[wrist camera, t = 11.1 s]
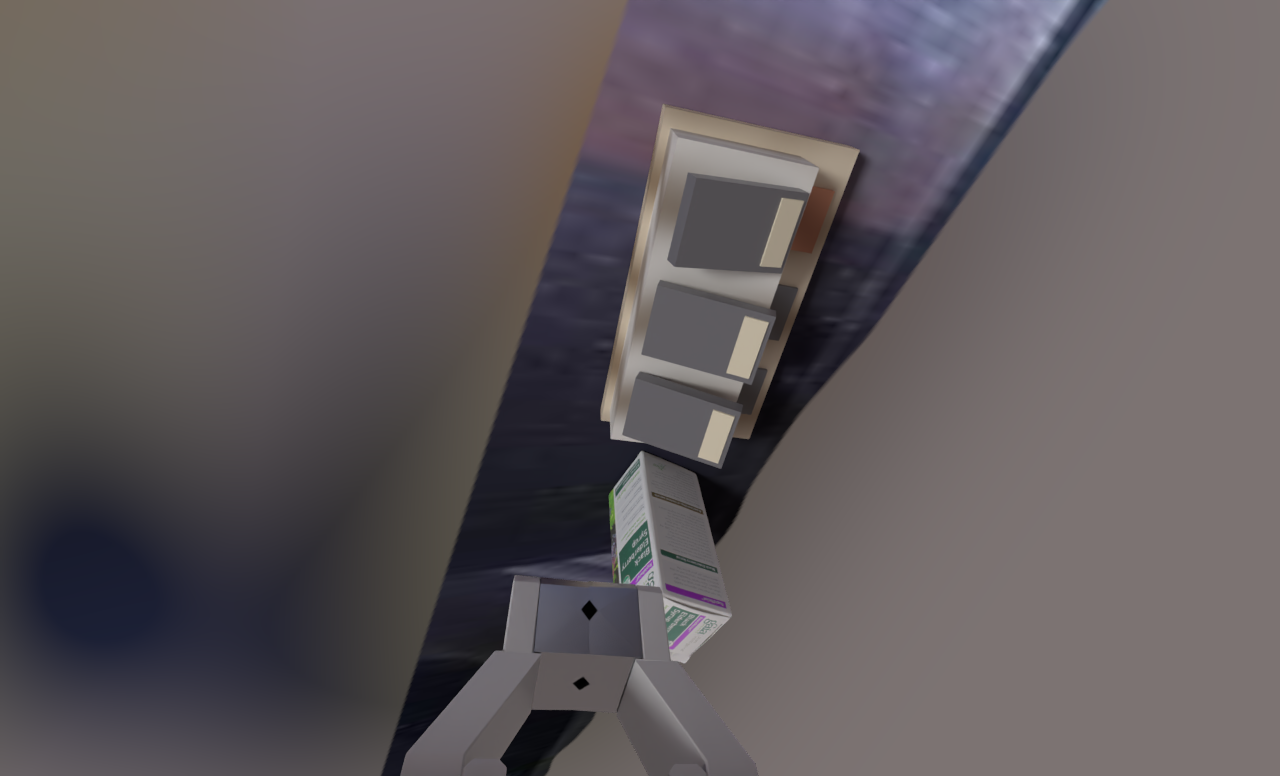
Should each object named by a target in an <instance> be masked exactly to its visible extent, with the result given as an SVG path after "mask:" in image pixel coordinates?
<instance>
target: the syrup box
mask: <svg viewBox="0 0 1280 776" xmlns="http://www.w3.org/2000/svg"><path fill="white" fill-rule="evenodd" d="M609 508H610V528H611V547H612V566H613V583H622V584H635V585H642V586H655V587H660V589H661V590H662V595H663V603H664V611H665V618H666V626H667V634H668V642H669V650H670V658H671V660H672V661H678V662H682V663H686V662H687V660H688V659H689V658H690V656H691V655H692V654H693V653H694V652H695V651H696V650H697V649H698V648H699V647H700V646H702V645H703V644H704V643H705V642H706V641H707V640H708V639H709V638H711V637H712V635H713V634H714V633H716V632H717V630H718V629H719V628H720V627H721V626H722V625H723V624H724V623H726V622H727V621H728V620H729V619H730V618H731V617H732V613H731V609H730V605H729V601H728V597H727V593H726V589H725V585H724V581H723V577H722V574H721V570H720V566H719V561H718V558H717V554H716V550H715V546H714V542H713V538H712V534H711V530H710V526H709V522H708V518H707V514H706V510H705V507H704V502H703V498H702V494H701V491H700V487H699V482H698V479H697V475H696V474H695V473H693V472H691V471H689V470H687V469H685V468H683V467H680V466H678V465H676V464H673V463H671V462H668V461H666V460H664V459H661V458H659V457H656V456H654V455H651V454H649V453H646V452H644V451H641V452H640V453H639V455H638V457H637V458H636V459H635V460H634V462H633V463H632V464H631V466H630V467H629V468H628V469H627V471H626V472H625V473H624V475H623V476H622V477H621V479H620V480H619V482H618V483H617V484H616V486H615V487H614V488H613V490H612V491H611V493H610V494H609Z"/></svg>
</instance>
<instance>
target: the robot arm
mask: <svg viewBox="0 0 1280 776" xmlns="http://www.w3.org/2000/svg"><path fill="white" fill-rule="evenodd" d="M531 709H537V710H581V711H596V712H611V713H617V717H618V719H619V721H620V723H621V725H622V727H623V728H624V730H625V732H626V734H627V736H628V738H629V739H630V741H631V743H632V745H633V747H634V749H635V751H636V753H637V755H638V756H639V758H640V760H641V762H642V764H643V766H644V768H645V770H646V772H647V773H648V775H649V776H758V772H757V767H756V764H755V763H754V761H753V760H752V759H751V757H750V756H749V755H748V753H747V752H746V751H745V749H744V748H743V747H742V745H741V744H740V743H739V741H738V740H737V739H736V737H735V736H734V735H733V733H732V732H731V731H730V730H729V728H728V727H727V726H726V724H725V723H724V722H723V720H722V719H721V718H720V716H719V715H718V714H717V712H716V711H715V710H714V708H713V707H712V706H711V704H710V703H709V702H708V701H707V699H706V698H705V697H704V695H703V694H702V693H701V691H700V690H699V689H698V687H697V686H696V685H695V683H694V682H693V681H692V679H691V678H690V677H689V675H688V674H687V673H686V671H685V670H684V669H683V667H682V666H681V665H680V664H679V662H678V661H671V658H670V650H669V642H668V634H667V626H666V618H665V611H664V603H663V595H662V590H661V589H660V587H655V586H642V585H635V584H622V583H607V582H591V581H588V582H581V581H571V580H562V579H553V578H543V577H541V578H540V577H532V576H521V575H515V577H514V581H513V586H512V593H511V600H510V606H509V613H508V620H507V627H506V634H505V640H504V647H503V651H495V652H494V653H493V654H492V655H491V656H490V657H489V659H488V660H487V661H486V662H485V663H484V664H483V666H482V667H481V668H480V669H479V670H478V671H477V672H476V674H475V675H474V676H473V677H472V678H471V679H470V681H469V682H468V683H467V684H466V685H465V686H464V687H463V689H462V690H461V691H460V692H459V693H458V694H457V696H456V697H455V698H454V699H453V700H452V701H451V703H450V704H449V705H448V706H447V707H446V708H445V709H444V711H443V712H442V713H441V714H440V715H439V716H438V718H437V719H436V720H435V721H434V722H433V723H432V724H431V726H430V727H429V728H428V729H427V730H426V731H425V733H424V734H423V735H422V736H421V737H420V738H419V740H418V741H417V742H416V743H415V744H414V745H413V746H412V748H411V749H410V750H409V751H408V752H407V753H406V756H405V760H404V764H403V768H402V771H401V775H400V776H506V769H507V767H506V766H505V765H504V764H503V763H502V762H501V761H500V758H501V757H502V755H503V754H504V752H505V750H506V749H507V747H508V746H509V744H510V743H511V741H512V740H513V738H514V737H515V735H516V734H517V732H518V731H519V729H520V728H521V726H522V725H523V723H524V722H525V720H526V719H527V717H528V716H529V714H530V712H531Z"/></svg>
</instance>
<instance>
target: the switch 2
mask: <svg viewBox="0 0 1280 776" xmlns="http://www.w3.org/2000/svg"><path fill="white" fill-rule="evenodd" d="M742 408H743V405H742V404H739V403H736V402H733V401H730V400H727V399H724V398H721V397H717V396H714V395H711V394H708V393H705V392H702V391H699V390H696V389H693V388H690V387H687V386H683V385H680V384H677V383H674V382H671V381H668V380H665V379H662V378H659V377H656V376H653V375H649V374H646V373H643V372H639V373H638V375H637V376H636V378H635V382H634V386H633V391H632V395H631V399H630V404H629V408H628V412H627V416H626V421H625V425H624V429H623V433H622V435H623V436H626V437H629V438H632V439H635V440H638V441H641V442H644V443H647V444H650V445H653V446H656V447H658V448H661V449H664V450H667V451H670V452H673V453H676V454H679V455H682V456H685V457H688V458H691V459H694V460H697V461H700V462H703V463H705V464H708V465H711V466H714V467H717V468H720V469H721V467H722V465H723V462H724V459H725V456H726V454H727V451H728V448H729V445H730V442H731V440H732V437H733V434H734V431H735V429H736V426H737V423H738V420H739V418H740V415H741V412H742Z"/></svg>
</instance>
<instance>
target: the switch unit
mask: <svg viewBox="0 0 1280 776" xmlns="http://www.w3.org/2000/svg"><path fill="white" fill-rule="evenodd" d="M859 151H860V150H858V149H856V148H854V147H851V146H848V145H844V144H839V143H835V142H830V141H826V140H821V139H817V138H813V137H808V136H804V135H799V134H795V133H790V132H786V131H781V130H777V129H773V128H768V127H764V126H759V125H755V124H750V123H746V122H741V121H737V120H733V119H728V118H724V117H719V116H715V115H710V114H706V113H701V112H697V111H693V110H688V109H684V108H679V107H675V106H670V105H666V104H663V106H662V111H661V116H660V121H659V126H658V131H657V136H656V141H655V146H654V150H653V155H652V160H651V165H650V170H649V175H648V180H647V185H646V190H645V195H644V199H643V204H642V209H641V214H640V219H639V224H638V229H637V234H636V239H635V244H634V249H633V253H632V258H631V263H630V268H629V273H628V278H627V283H626V288H625V293H624V298H623V303H622V307H621V312H620V317H619V322H618V327H617V332H616V337H615V342H614V347H613V352H612V356H611V361H610V366H609V371H608V376H607V381H606V386H605V391H604V396H603V401H602V406H601V420H602V421H610V431H611V439H617V440H625V441H633V442H641V441H638V440H635V439H632V438H629V437H626V436H623V435H622V433H623V429H624V425H625V421H626V416H627V412H628V408H629V404H630V399H631V395H632V391H633V386H634V382H635V378H636V376H637V375H638V373H639V372H643V373H646V374H649V375H653V376H656V377H659V378H662V379H665V380H668V381H671V382H674V383H677V384H680V385H683V386H687V387H690V388H693V389H696V390H699V391H702V392H705V393H708V394H711V395H714V396H717V397H721V398H724V399H727V400H730V401H733V402H736V403H739V404H742V405H743V408H742V412H741V415H740V418H739V420H738V423H737V426H736V429H735V431H734V434H733V437H736V438H744V439H749V438H750V435H751V433H752V430H753V428H754V425H755V422H756V420H757V417H758V415H759V412H760V409H761V407H762V404H763V401H764V399H765V396H766V394H767V391H768V388H769V386H770V383H771V381H772V378H773V375H774V373H775V370H776V368H777V365H778V362H779V360H780V357H781V354H782V352H783V349H784V347H785V344H786V341H787V339H788V336H789V334H790V331H791V328H792V326H793V323H794V321H795V318H796V315H797V313H798V310H799V307H800V305H801V302H802V300H803V297H804V294H805V292H806V289H807V287H808V284H809V281H810V279H811V276H812V274H813V271H814V268H815V266H816V263H817V260H818V258H819V255H820V253H821V250H822V247H823V245H824V242H825V240H826V237H827V234H828V232H829V229H830V227H831V224H832V221H833V219H834V216H835V213H836V211H837V208H838V206H839V203H840V200H841V198H842V195H843V193H844V190H845V187H846V185H847V182H848V180H849V177H850V174H851V172H852V169H853V167H854V164H855V161H856V159H857V156H858V153H859ZM688 172H689V173H696V174H703V175H710V176H717V177H724V178H731V179H738V180H745V181H752V182H759V183H766V184H773V185H780V186H787V187H794V188H800V189H802V190H804V191H806V192H808V193H810V194H809V197H808V200H807V203H806V206H805V209H804V211H803V214H802V217H801V220H800V223H799V226H798V228H797V231H796V234H795V237H794V240H793V243H792V245H791V248H790V251H789V254H788V257H787V260H786V262H785V265H784V268H783V271H782V274H778V273H762V272H746V271H730V270H714V269H698V268H683V267H674V266H673V265H672V264H671V263H670V262H669V261H668V260H667V258H668V254H669V250H670V246H671V241H672V237H673V233H674V229H675V225H676V220H677V216H678V212H679V208H680V204H681V200H682V195H683V191H684V187H685V183H686V179H687V174H688ZM660 280H663V281H667V282H670V283H674V284H678V285H682V286H685V287H689V288H693V289H697V290H700V291H704V292H708V293H712V294H715V295H719V296H723V297H727V298H730V299H734V300H738V301H742V302H745V303H749V304H753V305H756V306H760V307H764V308H768V309H771V310H775V311H776V319H775V322H774V325H773V327H772V330H771V333H770V336H769V338H768V341H767V344H766V347H765V349H764V352H763V355H762V358H761V360H760V363H759V366H758V369H757V371H756V374H755V377H754V380H753V382H752V385H750V384H746V383H743V382H739V381H735V380H732V379H728V378H724V377H721V376H717V375H714V374H710V373H706V372H703V371H699V370H695V369H692V368H688V367H685V366H681V365H677V364H674V363H670V362H666V361H663V360H659V359H656V358H652V357H648V356H645V355H641V353H642V348H643V344H644V340H645V336H646V331H647V327H648V323H649V319H650V314H651V310H652V306H653V302H654V297H655V293H656V289H657V285H658V283H659V281H660ZM641 443H644V442H641Z"/></svg>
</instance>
